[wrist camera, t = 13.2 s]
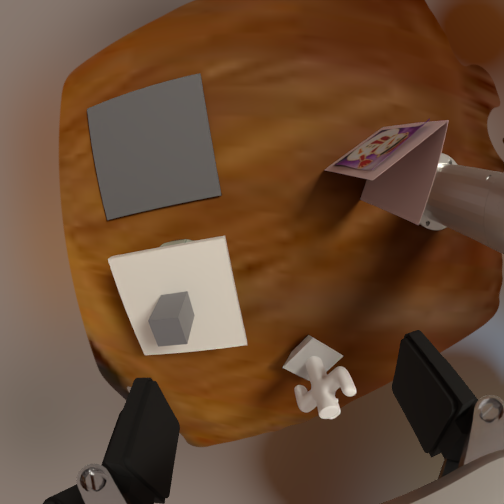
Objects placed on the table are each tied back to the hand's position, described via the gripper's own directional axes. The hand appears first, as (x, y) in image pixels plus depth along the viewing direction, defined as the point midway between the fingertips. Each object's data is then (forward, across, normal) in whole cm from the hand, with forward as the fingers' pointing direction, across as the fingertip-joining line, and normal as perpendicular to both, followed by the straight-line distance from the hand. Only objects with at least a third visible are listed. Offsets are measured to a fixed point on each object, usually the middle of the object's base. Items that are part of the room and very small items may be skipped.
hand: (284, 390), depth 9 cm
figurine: (+31, -6, +24) cm, 39 cm away
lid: (+24, +11, +8) cm, 28 cm away
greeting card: (+31, -17, -5) cm, 35 cm away
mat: (+30, +12, -12) cm, 35 cm away
